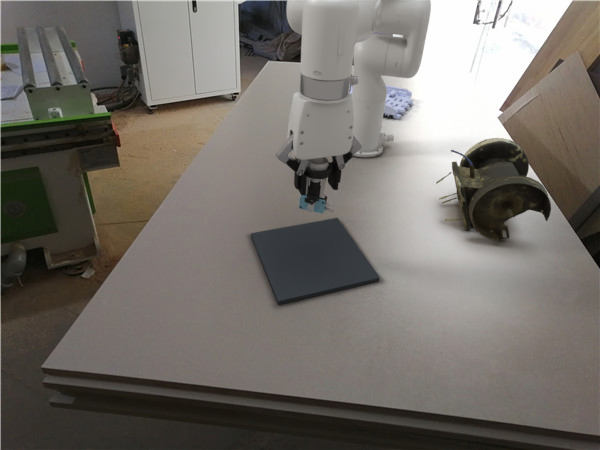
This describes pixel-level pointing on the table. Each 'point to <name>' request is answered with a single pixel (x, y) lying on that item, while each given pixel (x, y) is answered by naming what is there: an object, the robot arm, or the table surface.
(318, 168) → the push button
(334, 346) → the table surface
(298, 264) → the mat
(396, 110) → the ice tray
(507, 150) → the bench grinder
